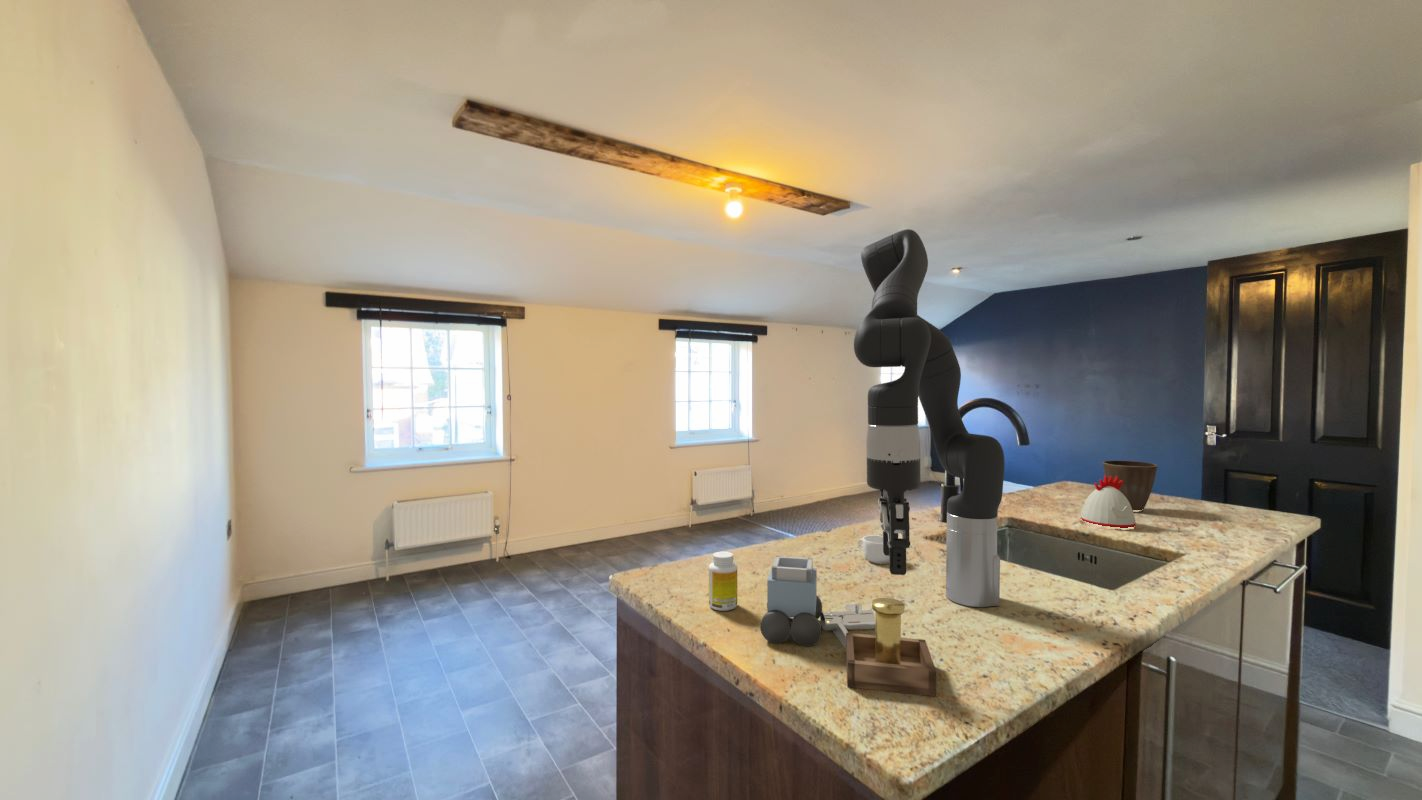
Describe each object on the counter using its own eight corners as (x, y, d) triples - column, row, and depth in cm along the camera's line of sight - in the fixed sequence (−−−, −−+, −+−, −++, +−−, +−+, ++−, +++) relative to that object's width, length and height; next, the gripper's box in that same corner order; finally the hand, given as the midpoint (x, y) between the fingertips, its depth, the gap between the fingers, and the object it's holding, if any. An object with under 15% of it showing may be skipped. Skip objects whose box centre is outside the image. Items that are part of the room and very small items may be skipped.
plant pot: (1115, 514, 187) (1117, 466, 186) (1093, 504, 201) (1094, 459, 201) (1166, 516, 184) (1167, 467, 184) (1140, 506, 199) (1141, 460, 199)
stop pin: (902, 662, 86) (902, 599, 86) (905, 678, 82) (906, 611, 81) (870, 659, 87) (871, 596, 87) (872, 674, 83) (873, 608, 82)
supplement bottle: (742, 608, 109) (742, 556, 109) (716, 614, 107) (716, 560, 107) (729, 599, 114) (729, 548, 114) (704, 603, 112) (704, 552, 112)
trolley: (822, 619, 104) (822, 555, 104) (820, 647, 93) (821, 575, 93) (767, 615, 106) (767, 551, 106) (760, 641, 95) (760, 571, 95)
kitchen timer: (1147, 530, 167) (1148, 479, 166) (1099, 530, 167) (1100, 479, 166) (1114, 519, 181) (1115, 472, 180) (1070, 519, 181) (1071, 472, 180)
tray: (924, 661, 89) (925, 639, 88) (936, 696, 79) (936, 671, 79) (845, 654, 91) (846, 632, 91) (847, 686, 81) (847, 662, 81)
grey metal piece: (868, 624, 103) (820, 626, 102) (869, 600, 103) (820, 601, 102) (890, 653, 93) (837, 655, 92) (891, 626, 93) (837, 628, 92)
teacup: (902, 562, 138) (902, 540, 138) (883, 568, 133) (883, 545, 133) (867, 552, 146) (867, 531, 145) (848, 558, 141) (848, 536, 141)
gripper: (863, 448, 91) (864, 549, 92) (870, 461, 77) (871, 579, 78) (912, 449, 90) (913, 550, 90) (928, 462, 76) (929, 582, 76)
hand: (894, 564), depth 84 cm, fingers open, 8 cm apart
